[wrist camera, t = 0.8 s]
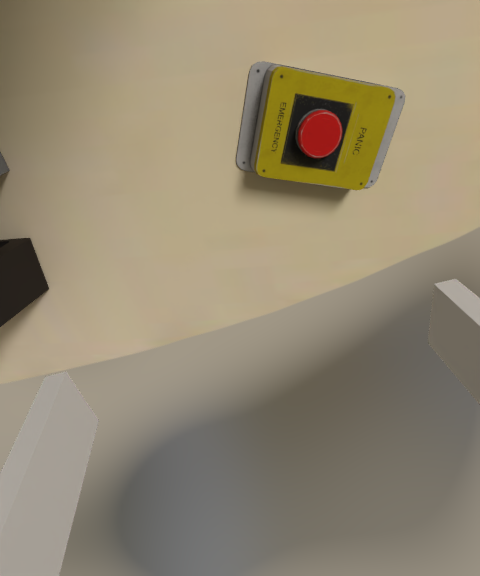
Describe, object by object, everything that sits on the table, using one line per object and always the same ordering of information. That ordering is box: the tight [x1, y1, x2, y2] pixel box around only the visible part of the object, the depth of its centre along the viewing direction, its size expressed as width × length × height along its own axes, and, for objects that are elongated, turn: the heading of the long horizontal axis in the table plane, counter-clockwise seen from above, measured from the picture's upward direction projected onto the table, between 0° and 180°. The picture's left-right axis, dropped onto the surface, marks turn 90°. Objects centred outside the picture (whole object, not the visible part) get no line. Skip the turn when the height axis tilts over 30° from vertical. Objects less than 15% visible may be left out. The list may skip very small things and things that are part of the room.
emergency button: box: [236, 61, 405, 190], centre depth 33 cm, size 9×4×15 cm
